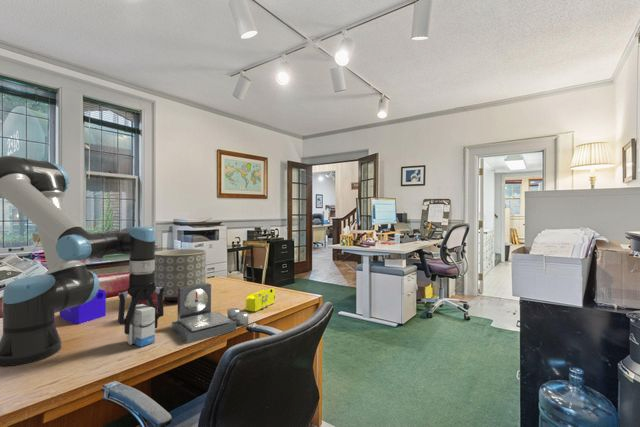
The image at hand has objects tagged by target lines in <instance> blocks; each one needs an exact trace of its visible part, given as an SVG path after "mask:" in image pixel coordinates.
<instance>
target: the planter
mask: <svg viewBox="0 0 640 427" xmlns="http://www.w3.org/2000/svg"><path fill="white" fill-rule="evenodd" d="M206 255H207V254H206V250H205V249H198V248H197V249H194V248H190V249H189V248H185V249H183V248H180V249H167V250H165V249H163V250H159V251H157V250H156V251H155V270H154V271H153V272H154V273H155V286H156V287H162V288H164V292H163V296H164V300H166V301H170V302H178V287H185V286H191V285H198V284H205V283H206V266H207V265H206V261H207V260H206V259H207V258H206Z"/></svg>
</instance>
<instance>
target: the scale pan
mask: <svg viewBox="0 0 640 427" xmlns="http://www.w3.org/2000/svg"><path fill="white" fill-rule="evenodd" d="M219 313H220V312H217V311H216V310H215V311H211V312H210V313H205V314H200V315H196V316H191V317H186V318H182V319H179V322H180V323H181V324H183V325H184V326H185V327H187V328H188V329H189V330H191V331H196V330H200V329H204V328H208V327H212V326H217V325H221V324H225V323H229V322H230V319H228V318H227V316H226V315H224V314H222V313H220V314H219ZM221 314H222V315H221ZM223 315H224V316H223ZM225 316H226V317H225Z"/></svg>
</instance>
